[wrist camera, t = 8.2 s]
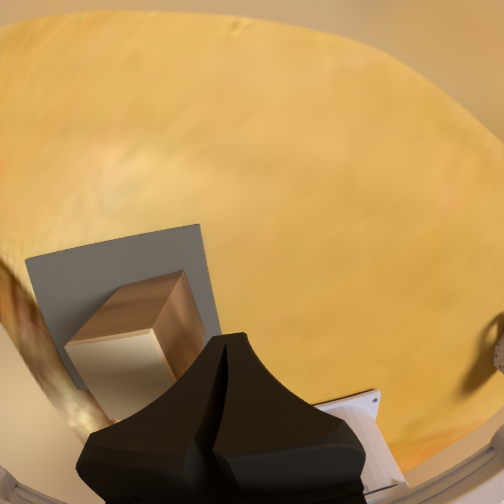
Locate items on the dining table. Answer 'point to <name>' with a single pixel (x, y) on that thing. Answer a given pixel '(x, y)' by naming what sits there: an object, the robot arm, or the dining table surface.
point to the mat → (116, 280)
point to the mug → (499, 354)
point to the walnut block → (138, 343)
